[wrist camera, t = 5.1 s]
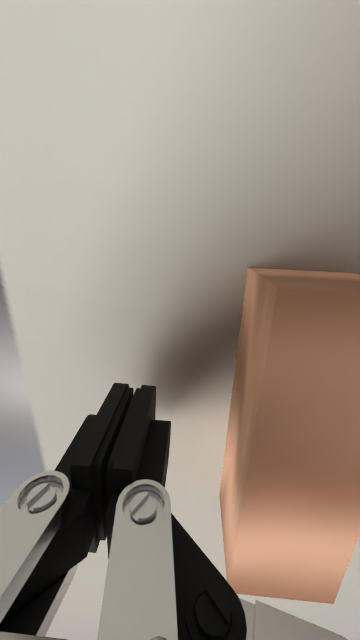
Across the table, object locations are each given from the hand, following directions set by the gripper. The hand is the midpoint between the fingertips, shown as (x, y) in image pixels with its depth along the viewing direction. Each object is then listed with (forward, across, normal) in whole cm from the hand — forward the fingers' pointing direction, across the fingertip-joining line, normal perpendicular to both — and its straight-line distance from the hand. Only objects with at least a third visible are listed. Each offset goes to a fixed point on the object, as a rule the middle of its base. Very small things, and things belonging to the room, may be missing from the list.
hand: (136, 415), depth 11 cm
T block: (+2, -10, 0) cm, 10 cm away
